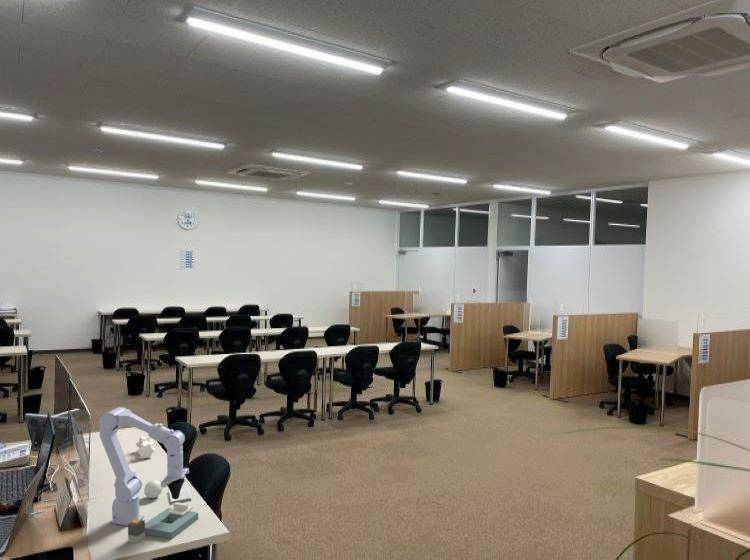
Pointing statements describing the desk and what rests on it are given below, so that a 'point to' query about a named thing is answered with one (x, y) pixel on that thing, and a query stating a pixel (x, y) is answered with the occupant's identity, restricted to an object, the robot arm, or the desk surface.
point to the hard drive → (181, 496)
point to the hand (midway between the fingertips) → (175, 498)
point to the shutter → (180, 509)
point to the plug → (136, 531)
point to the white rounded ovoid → (153, 489)
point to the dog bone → (145, 447)
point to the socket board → (164, 529)
